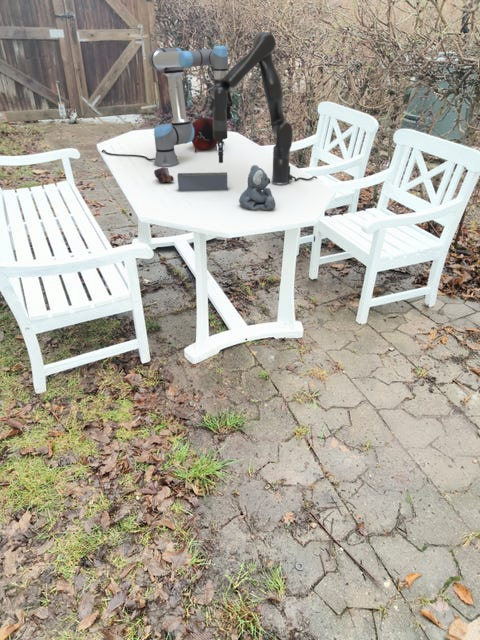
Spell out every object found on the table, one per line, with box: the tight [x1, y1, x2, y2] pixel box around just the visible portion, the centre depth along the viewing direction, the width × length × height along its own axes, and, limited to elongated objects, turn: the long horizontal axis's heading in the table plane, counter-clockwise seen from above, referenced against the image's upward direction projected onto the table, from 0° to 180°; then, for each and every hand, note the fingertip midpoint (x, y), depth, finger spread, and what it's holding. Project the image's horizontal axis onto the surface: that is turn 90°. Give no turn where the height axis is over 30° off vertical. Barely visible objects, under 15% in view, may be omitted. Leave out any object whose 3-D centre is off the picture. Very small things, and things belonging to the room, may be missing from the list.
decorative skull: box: [189, 117, 218, 153], centre depth 321 cm, size 21×24×25 cm
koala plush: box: [238, 164, 276, 211], centre depth 224 cm, size 17×18×20 cm
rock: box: [153, 167, 175, 184], centre depth 260 cm, size 12×9×10 cm
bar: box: [176, 171, 229, 192], centre depth 249 cm, size 27×4×9 cm, turn 92°
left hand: (222, 121), depth 256 cm, fingers open, 13 cm apart
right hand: (220, 160), depth 243 cm, fingers open, 8 cm apart
